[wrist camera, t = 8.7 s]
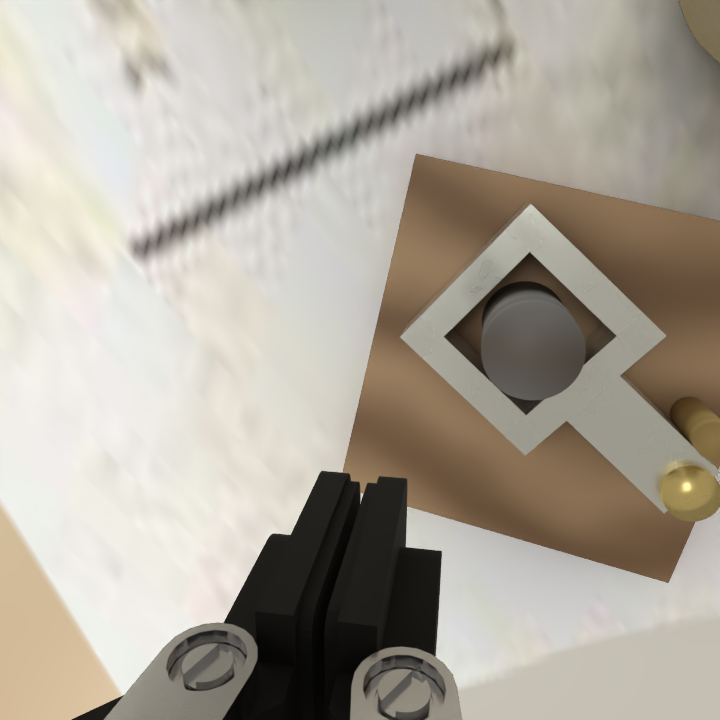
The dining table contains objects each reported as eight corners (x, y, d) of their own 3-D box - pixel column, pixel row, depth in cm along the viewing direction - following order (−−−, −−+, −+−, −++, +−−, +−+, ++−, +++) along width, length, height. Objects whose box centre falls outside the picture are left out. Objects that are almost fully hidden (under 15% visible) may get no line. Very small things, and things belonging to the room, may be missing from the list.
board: (419, 155, 30) (399, 144, 23) (800, 239, 28) (907, 256, 21) (345, 474, 36) (310, 544, 29) (660, 566, 34) (708, 667, 26)
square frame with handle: (407, 323, 31) (398, 340, 28) (526, 202, 28) (532, 204, 25) (621, 526, 32) (638, 567, 28) (756, 426, 29) (792, 457, 26)
